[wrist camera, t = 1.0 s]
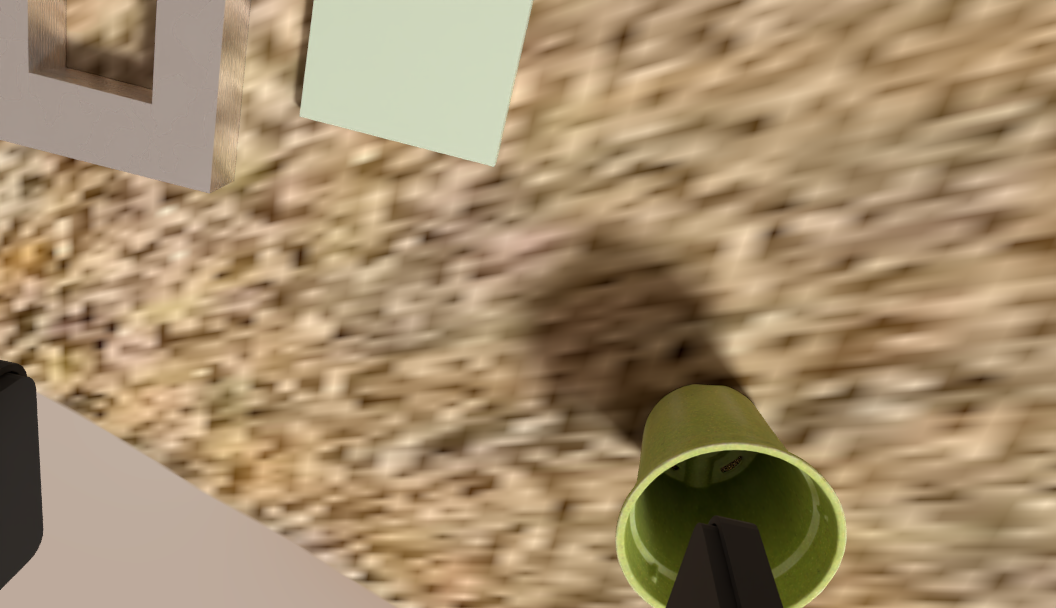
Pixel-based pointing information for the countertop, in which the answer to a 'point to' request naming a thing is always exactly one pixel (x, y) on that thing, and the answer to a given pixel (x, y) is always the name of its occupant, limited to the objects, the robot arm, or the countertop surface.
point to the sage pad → (417, 70)
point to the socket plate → (130, 93)
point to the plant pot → (725, 496)
